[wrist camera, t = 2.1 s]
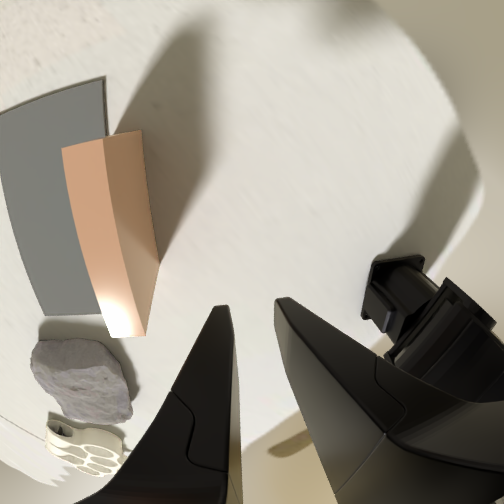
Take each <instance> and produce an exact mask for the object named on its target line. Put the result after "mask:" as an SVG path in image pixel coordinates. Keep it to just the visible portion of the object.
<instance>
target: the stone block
mask: <svg viewBox="0 0 504 504" xmlns="http://www.w3.org/2000/svg"><path fill="white" fill-rule="evenodd" d="M30 359H31V364H30V367H31V370H32V372H33V374H34V377H35V379H36V380H37V382H38V383H39V384H40V385H41V387H42V388H43V389H44V390H45V391H46V392H47V393H48V394H50V395H52V396H53V397H54V398H55V399H56V400H57V403H58V404H59V405H60V406H61V409H62V411H63V414H64V415H65V416H66V417H67V418H69V419H78V420H81V421H84V422H90V423H93V424H101V425H112V424H118V423H125V422H126V420H129V419H131V417H132V415H133V409H132V405H131V402H130V397H129V390H128V387H127V383H126V380H125V379H124V377H123V373H122V370H121V365H120V363H119V362H118V361H117V360H116V359H115V358H114V356H113V355H112V354H111V353H110V352H109V351H108V349H107V348H106V347H105V346H104V345H103V344H102V343H100V342H98V341H91V340H86V339H80V338H76V339H70V340H69V339H67V340H64V341H58V340H48V341H39V342H38V343H37V344H36V346H35V348H34V349H33V350H32V357H31V358H30Z"/></svg>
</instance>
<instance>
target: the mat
mask: <svg viewBox="0 0 504 504" xmlns="http://www.w3.org/2000/svg"><path fill="white" fill-rule="evenodd" d="M105 136H106V124H105V111H104V91H103V80H99V81H95V82H91V83H87V84H84V85H80V86H77V87H73V88H70V89H67V90H63V91H60V92H57V93H54V94H51V95H49V96H46V97H43V98H40V99H37V100H35V101H32V102H30V103H27V104H25V105H22V106H20V107H17V108H15V109H13V110H11V111H8V112H6V113H4V114H2V115H0V175H1V181H2V186H3V191H4V196H5V201H6V205H7V210H8V214H9V218H10V221H11V225H12V229H13V232H14V236H15V239H16V242H17V246H18V249H19V252H20V255H21V258H22V261H23V264H24V266H25V269H26V272H27V275H28V277H29V280H30V282H31V285H32V287H33V290H34V292H35V295H36V297H37V299H38V302H39V304H40V306H41V308H42V311H43V313H44V315H45V316H60V315H87V314H102V311H101V309H100V306H99V303H98V300H97V297H96V295H95V292H94V289H93V286H92V283H91V280H90V277H89V273H88V270H87V267H86V264H85V260H84V257H83V253H82V250H81V246H80V242H79V239H78V235H77V231H76V227H75V222H74V218H73V214H72V209H71V204H70V199H69V194H68V189H67V183H66V177H65V171H64V164H63V157H62V150H61V148H64V147H67V146H71V145H74V144H78V143H81V142H85V141H89V140H93V139H97V138H101V137H105Z"/></svg>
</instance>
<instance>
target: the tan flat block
mask: <svg viewBox="0 0 504 504" xmlns="http://www.w3.org/2000/svg"><path fill="white" fill-rule="evenodd" d="M61 150H62V157H63V164H64V171H65V177H66V183H67V189H68V194H69V199H70V204H71V209H72V214H73V218H74V222H75V227H76V231H77V235H78V239H79V242H80V246H81V250H82V253H83V257H84V260H85V264H86V267H87V270H88V273H89V277H90V280H91V283H92V286H93V289H94V292H95V295H96V297H97V300H98V303H99V306H100V309H101V311H102V314H103V317H104V319H105V322H106V324H107V327H108V329H109V332H110V334H111V337H136V336H146V330H147V325H148V319H149V314H150V309H151V304H152V299H153V294H154V289H155V285H156V280H157V275H158V271H159V267H160V262H159V257H158V251H157V246H156V240H155V234H154V228H153V222H152V216H151V209H150V202H149V195H148V188H147V180H146V171H145V162H144V153H143V142H142V130H137V131H131V132H125V133H119V134H114V135H109V136H105V137H101V138H97V139H93V140H89V141H85V142H81V143H78V144H74V145H71V146H67V147H64V148H61Z"/></svg>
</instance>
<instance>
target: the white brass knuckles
mask: <svg viewBox="0 0 504 504" xmlns="http://www.w3.org/2000/svg"><path fill="white" fill-rule="evenodd" d="M59 427H62V429H63V435H62V436H60V435H58V433H57V432H58V429H59ZM45 439H46V445H45V448H46V449H47V450H48V451H49V452H50V453H51V454H52V455H54V456H55V457H57V458H59V459H61V460H64V461H66V462H69V463H70V464H72V465H74V466H75V468H77V469H78V470H80V471H82V472H84V473H87V474H90V475H93V476H100V477H104V476H105V474H115V473H117V472H118V469H120V467H121V466H122V465H123V462H125V460H126V459H127V458H128V457H127V456H126V455H124V454H123V449H122V440H121V439H120V438H119V437H118V436H116V435H115V434H113V433H111V432H108V431H105V430H102V429H98V428H85V429H76V428H73V427H71V426H69V425H67V424H65V423H63V422H61V421H58V420H47V423H46V437H45Z"/></svg>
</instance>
